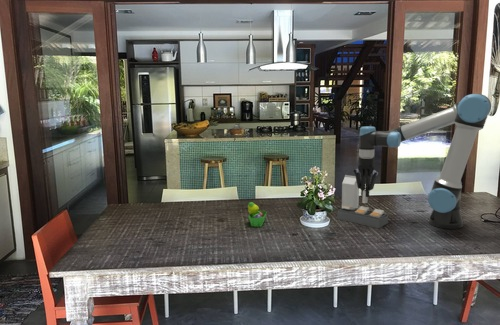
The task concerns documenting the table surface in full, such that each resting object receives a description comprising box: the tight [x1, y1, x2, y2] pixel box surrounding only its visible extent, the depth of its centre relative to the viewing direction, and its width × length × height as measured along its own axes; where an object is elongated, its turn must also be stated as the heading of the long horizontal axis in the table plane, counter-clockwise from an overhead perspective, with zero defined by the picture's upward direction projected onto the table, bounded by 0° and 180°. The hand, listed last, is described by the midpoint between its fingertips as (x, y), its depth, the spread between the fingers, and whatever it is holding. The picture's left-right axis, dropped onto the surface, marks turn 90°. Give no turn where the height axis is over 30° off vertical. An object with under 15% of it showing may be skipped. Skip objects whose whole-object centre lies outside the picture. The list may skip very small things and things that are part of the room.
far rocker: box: [341, 205, 355, 210], centre depth 211 cm, size 4×6×1 cm
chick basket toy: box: [247, 201, 267, 228], centre depth 204 cm, size 11×9×11 cm
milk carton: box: [341, 174, 360, 209], centre depth 228 cm, size 7×7×19 cm
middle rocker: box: [355, 205, 370, 215], centre depth 205 cm, size 4×6×1 cm
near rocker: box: [370, 208, 385, 218], centre depth 200 cm, size 4×6×1 cm
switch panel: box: [336, 207, 389, 229], centre depth 206 cm, size 23×10×5 cm, turn 47°
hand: (364, 202), depth 207 cm, fingers closed
